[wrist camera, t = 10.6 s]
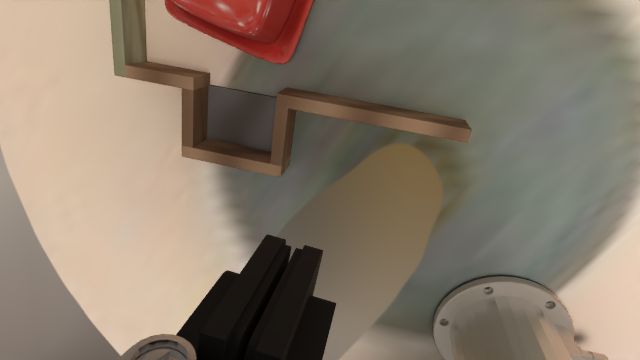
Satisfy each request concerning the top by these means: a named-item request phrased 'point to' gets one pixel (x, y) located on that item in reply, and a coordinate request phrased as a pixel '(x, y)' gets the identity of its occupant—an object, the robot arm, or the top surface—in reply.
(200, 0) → the butter dish
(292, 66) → the top surface
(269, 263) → the robot arm
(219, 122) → the trap lane
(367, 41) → the top surface
